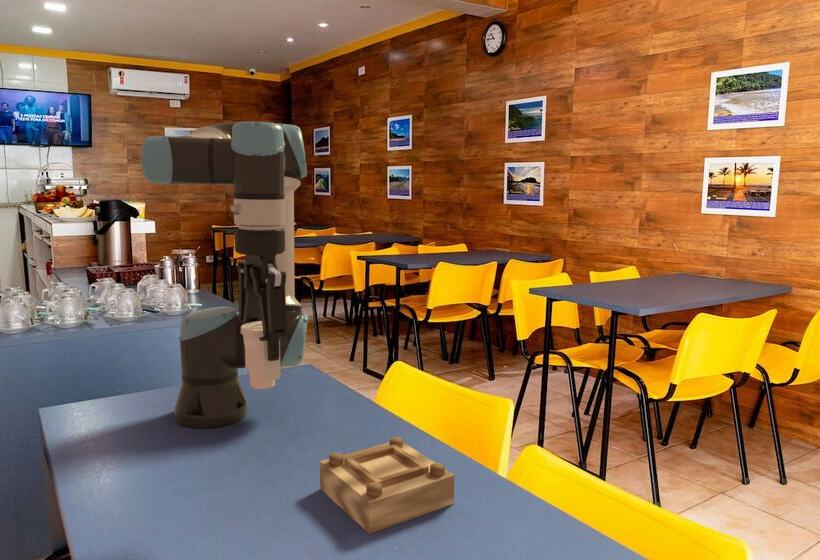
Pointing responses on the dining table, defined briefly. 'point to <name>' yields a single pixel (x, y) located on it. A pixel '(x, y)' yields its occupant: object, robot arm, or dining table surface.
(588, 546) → the dining table surface
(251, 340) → the smoothie
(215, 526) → the dining table surface
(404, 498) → the base brick
